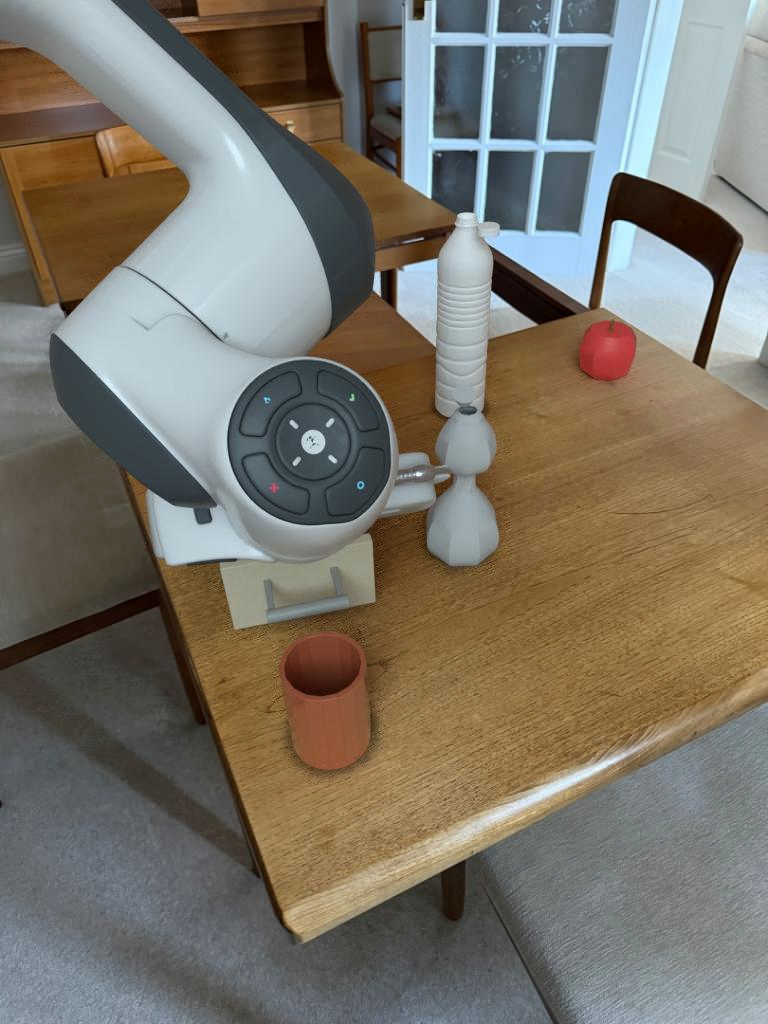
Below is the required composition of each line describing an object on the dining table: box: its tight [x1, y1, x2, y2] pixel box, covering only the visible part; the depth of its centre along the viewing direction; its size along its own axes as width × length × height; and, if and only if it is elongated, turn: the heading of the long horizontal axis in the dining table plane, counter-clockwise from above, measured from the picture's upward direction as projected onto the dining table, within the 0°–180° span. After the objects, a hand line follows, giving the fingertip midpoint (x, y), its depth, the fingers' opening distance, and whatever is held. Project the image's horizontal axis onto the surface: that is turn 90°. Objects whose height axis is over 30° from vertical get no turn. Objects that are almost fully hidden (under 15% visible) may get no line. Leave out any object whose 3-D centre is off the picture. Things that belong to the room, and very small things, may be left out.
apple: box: [578, 319, 637, 382], centre depth 102 cm, size 8×8×8 cm
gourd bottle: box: [425, 384, 500, 568], centre depth 70 cm, size 8×8×20 cm
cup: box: [278, 630, 372, 771], centre depth 58 cm, size 6×6×9 cm
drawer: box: [219, 532, 377, 631], centre depth 71 cm, size 20×13×8 cm, turn 14°
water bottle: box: [434, 212, 501, 418], centre depth 90 cm, size 9×6×25 cm
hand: (291, 515), depth 60 cm, fingers closed
